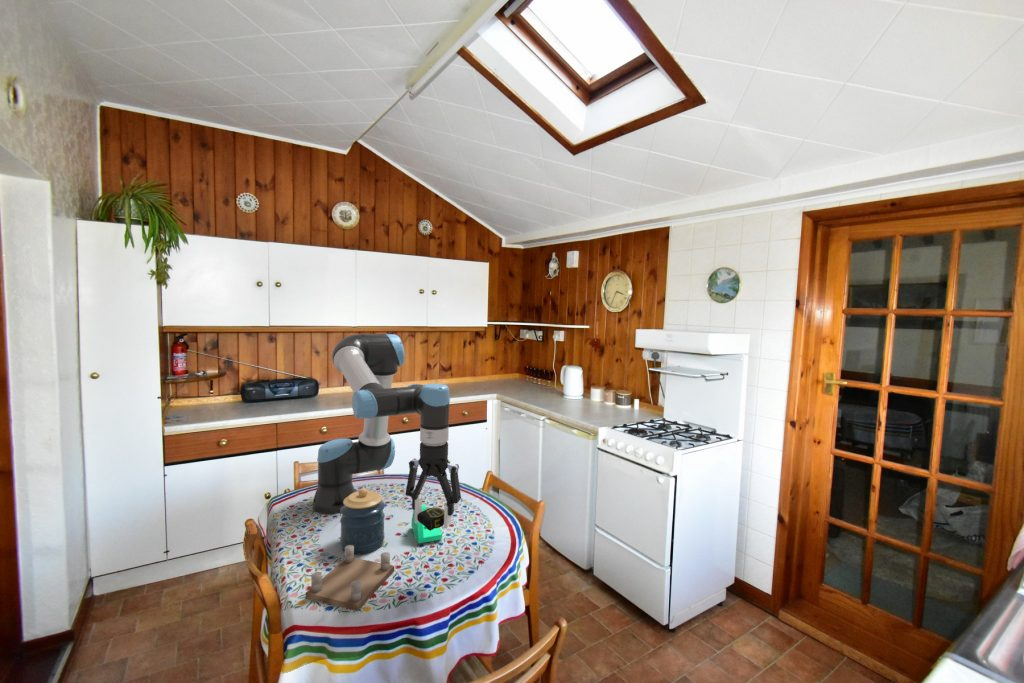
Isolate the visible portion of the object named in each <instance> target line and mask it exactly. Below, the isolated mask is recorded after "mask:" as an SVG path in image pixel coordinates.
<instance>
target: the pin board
mask: <svg viewBox="0 0 1024 683" xmlns="http://www.w3.org/2000/svg"><path fill="white" fill-rule="evenodd" d="M390 560H391V555H390V552H388V551H384V552H381V554H380V562H377V561H371V560H367V559H363V558H356V557H355V554H354V546H353V545H348V546H346V547H345V552H344V559H343V560H342V561H341V562H340V563H338V564H337V565H336V566H335V567H333V569H331V570H330V571H329V572H328V573H327V574H325V575H324V576H323V574H322V572H320V571H316V572H313V573H312V574H311V576H310V577H311V579H310V580H311V583H310V585H311V587H310V588H309V589H308V590H307V591H306V592H305V599H306V600H311V601H314V602H319V603H323V604H326V603H327V605H331V606H336V607H339V608H344V609H349V610H352V611H356V612H358V611H359V610H360V609H361V608H362V607H363V606H364V605H365V604H366V602H368V601H369V599H370V598H371V597H372V596H373V595H374V594H375V593H376V592H377V591H378V590H379V588H381V587H382V585H383V584H384V583H385V582H386V581H387V580H388V579H389V578H390V577H391V575H392V574H393V573H394V572H395V565H391V561H390Z"/></svg>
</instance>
